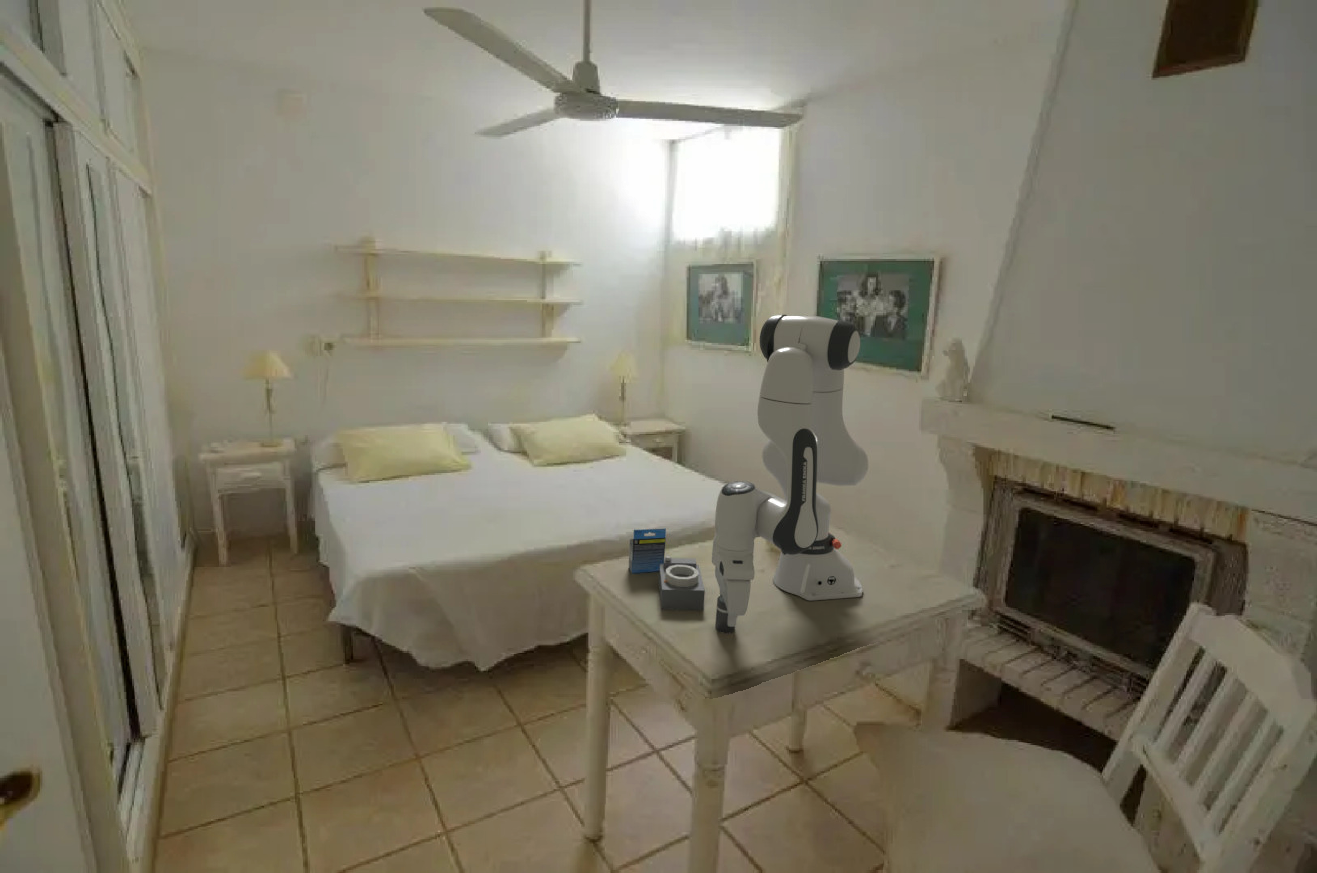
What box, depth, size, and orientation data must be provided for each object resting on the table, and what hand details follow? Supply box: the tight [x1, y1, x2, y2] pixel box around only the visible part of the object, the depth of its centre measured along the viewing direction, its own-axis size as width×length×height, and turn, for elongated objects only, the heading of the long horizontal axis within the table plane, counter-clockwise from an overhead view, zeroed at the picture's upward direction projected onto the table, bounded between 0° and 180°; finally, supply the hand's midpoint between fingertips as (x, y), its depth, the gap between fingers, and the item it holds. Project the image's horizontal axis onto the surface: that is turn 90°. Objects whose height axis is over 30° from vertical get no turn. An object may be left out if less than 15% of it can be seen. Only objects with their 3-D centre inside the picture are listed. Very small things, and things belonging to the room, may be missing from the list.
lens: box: [714, 595, 736, 634], centre depth 147 cm, size 4×4×7 cm
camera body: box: [658, 555, 706, 611], centre depth 161 cm, size 10×14×8 cm
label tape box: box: [628, 528, 667, 574], centre depth 174 cm, size 9×4×12 cm, turn 105°
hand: (727, 614), depth 146 cm, fingers open, 8 cm apart
